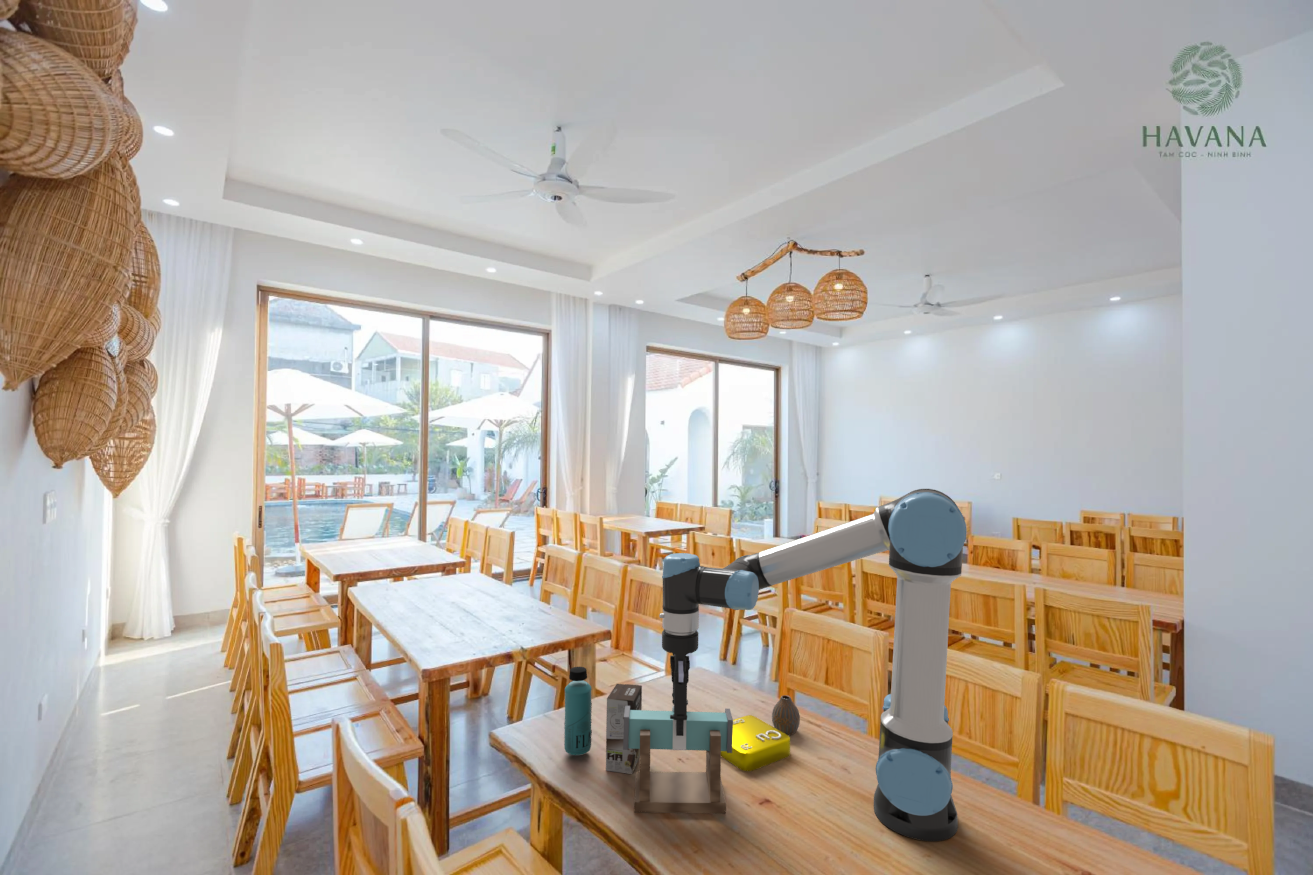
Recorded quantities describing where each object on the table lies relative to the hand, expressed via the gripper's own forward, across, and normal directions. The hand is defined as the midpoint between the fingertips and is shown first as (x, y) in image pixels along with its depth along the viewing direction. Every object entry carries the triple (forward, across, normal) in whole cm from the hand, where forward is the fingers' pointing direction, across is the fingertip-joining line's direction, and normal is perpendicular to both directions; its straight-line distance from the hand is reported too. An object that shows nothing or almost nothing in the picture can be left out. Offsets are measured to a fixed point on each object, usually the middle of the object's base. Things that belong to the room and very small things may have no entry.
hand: (678, 742), depth 124 cm
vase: (+11, -28, +28) cm, 41 cm away
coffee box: (+11, -13, -12) cm, 21 cm away
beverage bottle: (+11, -16, -23) cm, 30 cm away
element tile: (+12, -19, +17) cm, 28 cm away
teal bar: (0, 0, 0) cm, 0 cm away
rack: (+11, 0, 0) cm, 11 cm away
